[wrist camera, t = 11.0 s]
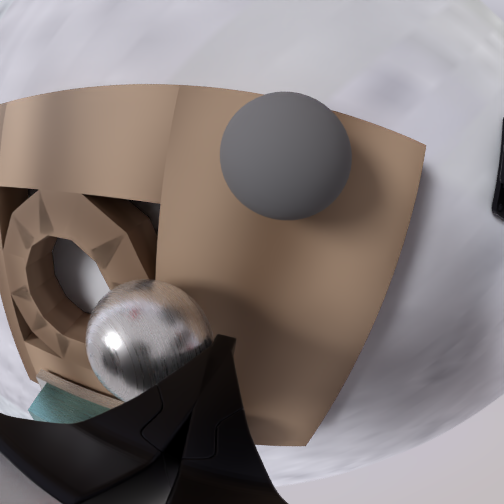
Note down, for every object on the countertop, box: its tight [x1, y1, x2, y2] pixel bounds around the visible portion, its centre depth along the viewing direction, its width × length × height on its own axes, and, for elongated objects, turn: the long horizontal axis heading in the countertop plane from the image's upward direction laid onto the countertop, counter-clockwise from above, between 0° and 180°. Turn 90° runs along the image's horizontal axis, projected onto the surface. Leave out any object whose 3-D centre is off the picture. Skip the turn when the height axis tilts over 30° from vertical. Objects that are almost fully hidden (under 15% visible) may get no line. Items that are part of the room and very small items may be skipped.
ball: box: [86, 279, 214, 402], centre depth 8 cm, size 4×4×4 cm
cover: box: [28, 369, 125, 424], centre depth 12 cm, size 7×7×3 cm
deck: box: [0, 84, 426, 446], centre depth 12 cm, size 20×18×2 cm
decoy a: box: [220, 92, 352, 220], centre depth 7 cm, size 4×4×4 cm
